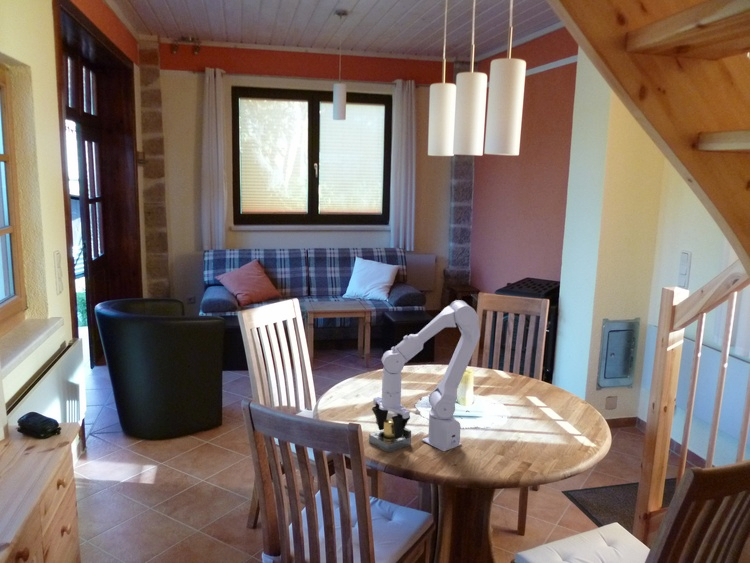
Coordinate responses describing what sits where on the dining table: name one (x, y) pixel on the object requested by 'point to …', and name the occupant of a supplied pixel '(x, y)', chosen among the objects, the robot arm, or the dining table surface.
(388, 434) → the brass cylinder rod
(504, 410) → the dining table surface
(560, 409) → the dining table surface
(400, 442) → the jig
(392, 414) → the mechanical component
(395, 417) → the robot arm
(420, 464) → the dining table surface
